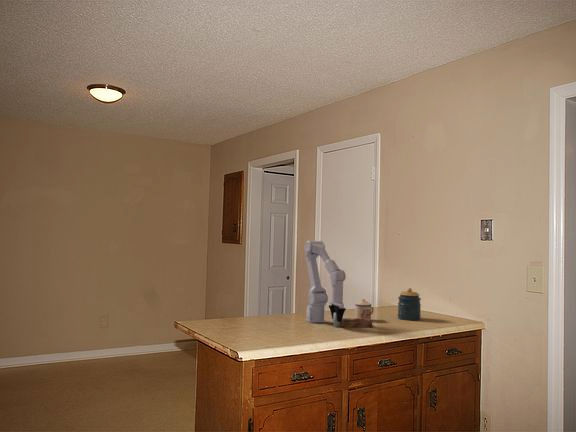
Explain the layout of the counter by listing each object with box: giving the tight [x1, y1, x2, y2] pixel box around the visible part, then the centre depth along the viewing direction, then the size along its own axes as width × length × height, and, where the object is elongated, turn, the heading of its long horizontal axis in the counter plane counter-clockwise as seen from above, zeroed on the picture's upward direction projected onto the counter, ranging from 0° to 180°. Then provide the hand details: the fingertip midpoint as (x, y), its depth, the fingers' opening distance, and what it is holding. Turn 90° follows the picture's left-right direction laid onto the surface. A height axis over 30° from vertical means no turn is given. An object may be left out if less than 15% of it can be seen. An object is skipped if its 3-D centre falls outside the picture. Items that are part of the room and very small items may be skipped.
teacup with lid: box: [354, 298, 375, 321], centre depth 274 cm, size 12×9×12 cm
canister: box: [397, 287, 422, 321], centre depth 282 cm, size 13×13×18 cm
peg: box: [332, 313, 341, 328], centre depth 251 cm, size 3×3×7 cm
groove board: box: [340, 317, 373, 329], centre depth 256 cm, size 16×12×2 cm
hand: (336, 320), depth 251 cm, fingers open, 7 cm apart
